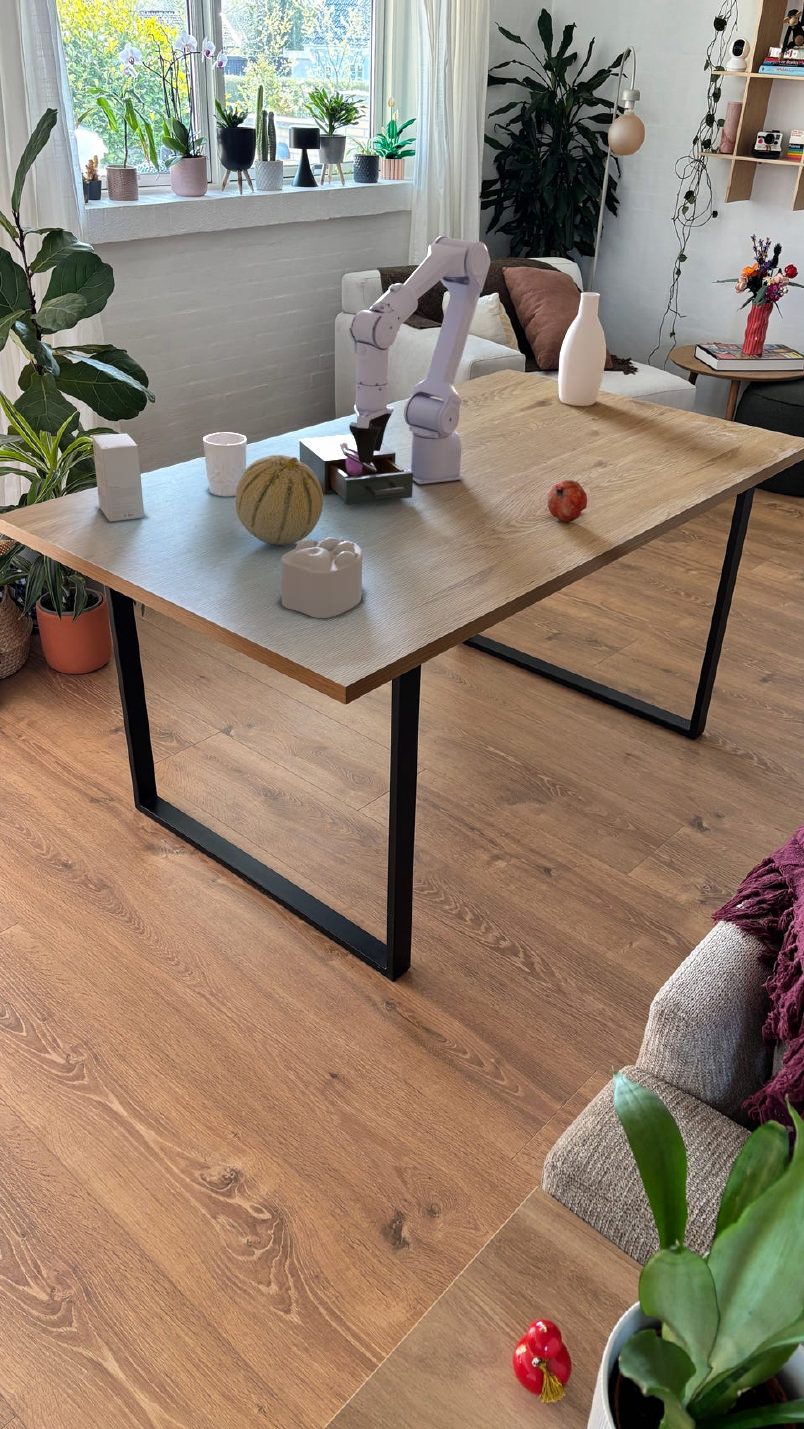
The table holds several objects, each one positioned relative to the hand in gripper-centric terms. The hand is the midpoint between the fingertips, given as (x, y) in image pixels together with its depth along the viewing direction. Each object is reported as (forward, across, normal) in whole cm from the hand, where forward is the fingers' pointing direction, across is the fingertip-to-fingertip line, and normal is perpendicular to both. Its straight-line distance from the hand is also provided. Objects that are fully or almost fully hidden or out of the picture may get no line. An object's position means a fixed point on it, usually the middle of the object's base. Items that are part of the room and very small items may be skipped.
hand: (370, 456), depth 201 cm
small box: (+8, -20, +41) cm, 46 cm away
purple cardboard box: (+3, 0, +1) cm, 4 cm away
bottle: (+8, +83, -35) cm, 91 cm away
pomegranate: (+8, 0, -37) cm, 38 cm away
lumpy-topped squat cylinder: (+8, -46, -3) cm, 46 cm away
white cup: (+8, -4, +27) cm, 28 cm away
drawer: (+7, -1, -1) cm, 7 cm away
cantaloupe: (+8, -26, +10) cm, 29 cm away
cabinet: (+8, +9, +6) cm, 14 cm away
